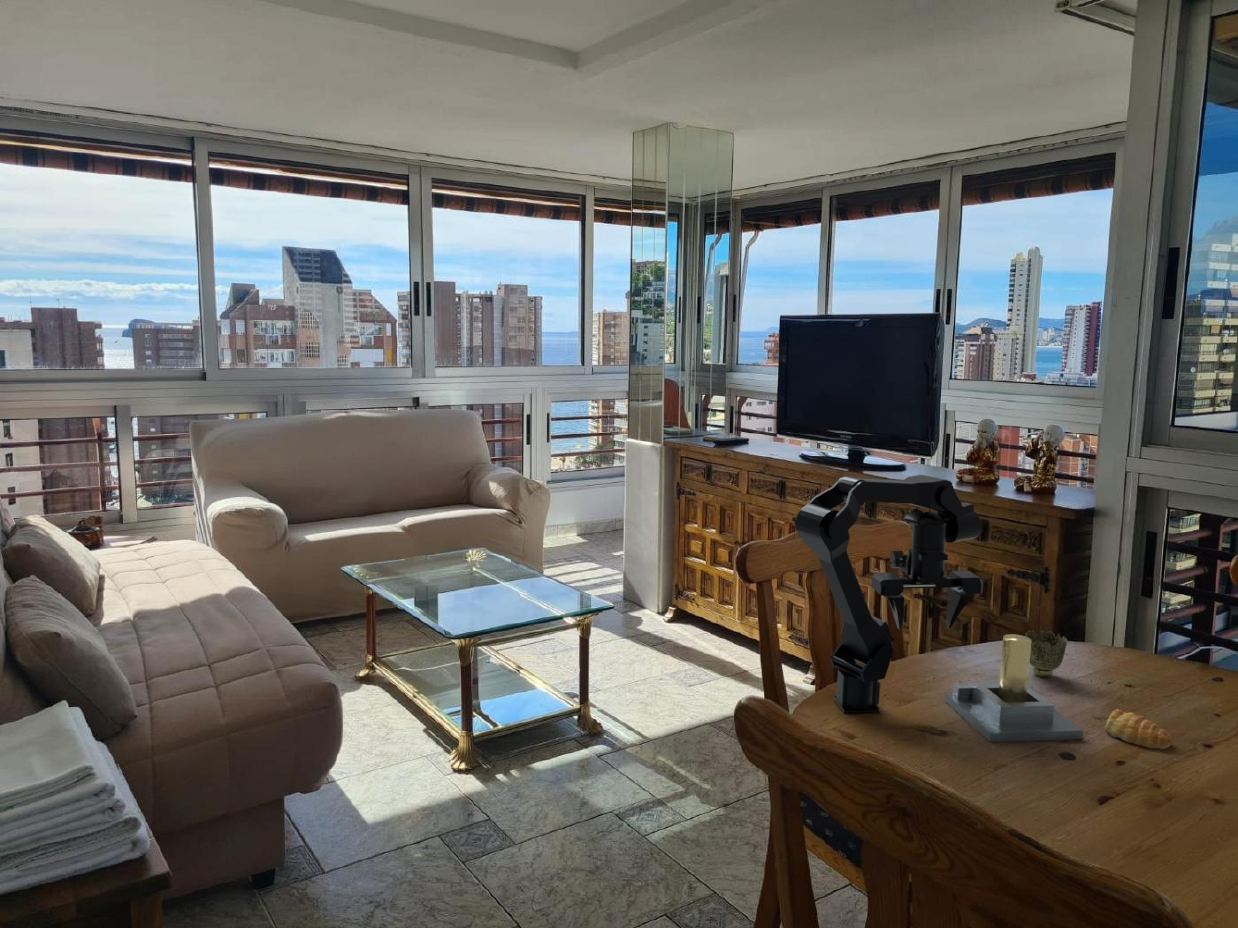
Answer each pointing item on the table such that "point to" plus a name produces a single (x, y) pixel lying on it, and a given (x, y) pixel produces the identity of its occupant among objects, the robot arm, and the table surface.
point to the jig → (1010, 715)
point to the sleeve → (1014, 668)
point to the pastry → (1137, 730)
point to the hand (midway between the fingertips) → (924, 628)
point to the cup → (1046, 652)
